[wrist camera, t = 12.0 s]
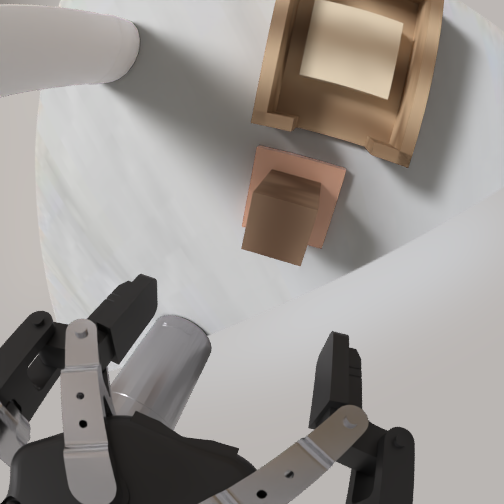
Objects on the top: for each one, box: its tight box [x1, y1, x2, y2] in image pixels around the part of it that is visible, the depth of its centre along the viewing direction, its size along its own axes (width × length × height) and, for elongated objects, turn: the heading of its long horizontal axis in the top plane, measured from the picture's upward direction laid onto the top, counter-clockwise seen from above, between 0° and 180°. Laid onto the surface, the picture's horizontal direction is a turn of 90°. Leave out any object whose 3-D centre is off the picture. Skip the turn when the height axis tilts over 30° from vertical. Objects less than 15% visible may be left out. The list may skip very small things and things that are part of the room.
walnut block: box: [241, 169, 321, 266], centre depth 24 cm, size 4×4×7 cm
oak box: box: [251, 0, 444, 168], centre depth 18 cm, size 16×12×5 cm
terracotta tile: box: [242, 145, 346, 249], centre depth 27 cm, size 8×8×1 cm
